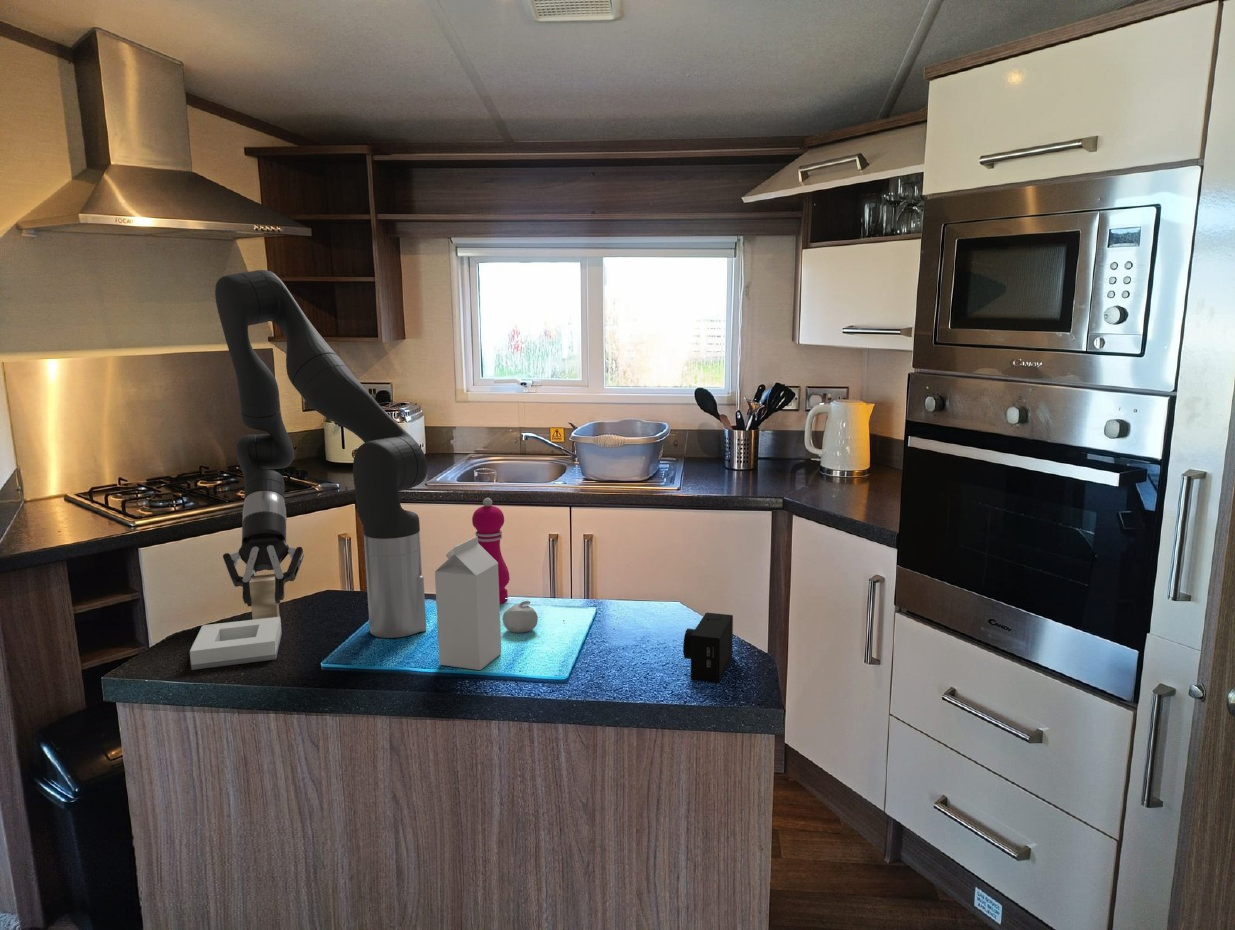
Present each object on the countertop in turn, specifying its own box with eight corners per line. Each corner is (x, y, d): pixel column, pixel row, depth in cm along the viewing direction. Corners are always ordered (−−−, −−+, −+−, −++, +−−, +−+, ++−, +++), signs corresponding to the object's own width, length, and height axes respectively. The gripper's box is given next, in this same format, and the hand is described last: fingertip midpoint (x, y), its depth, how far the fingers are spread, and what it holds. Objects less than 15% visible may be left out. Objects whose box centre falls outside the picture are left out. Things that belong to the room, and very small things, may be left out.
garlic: (539, 624, 141) (538, 596, 141) (537, 636, 136) (536, 606, 135) (505, 625, 141) (504, 596, 141) (501, 636, 136) (500, 607, 135)
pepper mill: (502, 607, 151) (499, 502, 148) (466, 605, 152) (461, 501, 149) (515, 595, 158) (511, 494, 155) (480, 593, 159) (476, 493, 156)
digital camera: (698, 653, 128) (698, 610, 127) (732, 657, 126) (733, 614, 125) (682, 679, 118) (682, 633, 117) (719, 683, 117) (719, 637, 115)
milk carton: (501, 654, 128) (497, 537, 125) (480, 671, 122) (475, 549, 119) (462, 649, 131) (457, 534, 128) (439, 665, 124) (432, 545, 121)
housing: (281, 633, 139) (280, 616, 138) (276, 659, 128) (274, 640, 127) (204, 642, 135) (202, 625, 135) (191, 669, 124) (189, 651, 123)
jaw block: (279, 616, 147) (275, 573, 146) (277, 623, 143) (274, 579, 142) (255, 618, 146) (251, 576, 144) (253, 626, 142) (249, 582, 141)
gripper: (219, 513, 146) (215, 597, 137) (303, 506, 151) (305, 588, 141) (225, 535, 152) (222, 617, 143) (306, 528, 156) (308, 608, 147)
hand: (263, 602), depth 142 cm, fingers closed on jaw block, 4 cm apart
